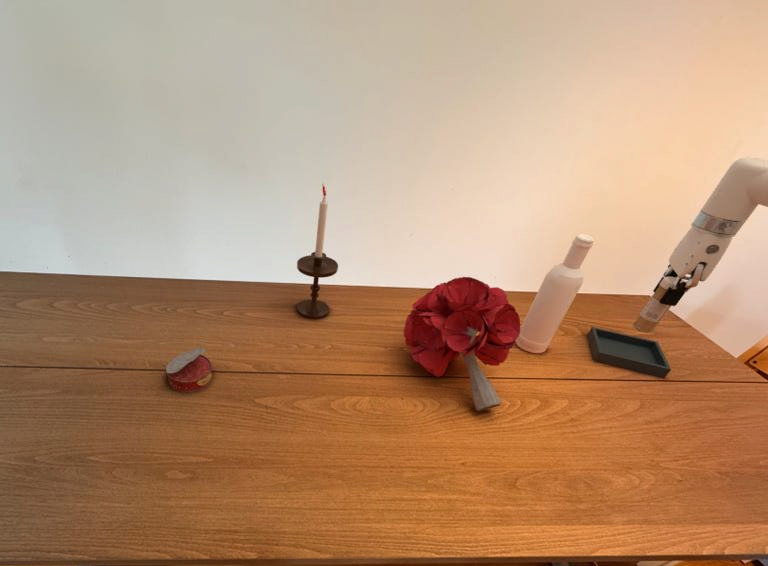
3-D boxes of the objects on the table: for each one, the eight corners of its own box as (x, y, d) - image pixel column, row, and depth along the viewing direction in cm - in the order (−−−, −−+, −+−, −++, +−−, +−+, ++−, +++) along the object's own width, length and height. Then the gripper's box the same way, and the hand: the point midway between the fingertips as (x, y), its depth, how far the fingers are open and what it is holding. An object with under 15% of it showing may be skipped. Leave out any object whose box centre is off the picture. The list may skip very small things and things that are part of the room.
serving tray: (651, 349, 113) (657, 341, 111) (664, 378, 104) (671, 369, 102) (586, 334, 117) (591, 326, 115) (593, 360, 108) (599, 352, 106)
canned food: (184, 407, 95) (157, 385, 87) (175, 375, 101) (150, 352, 93) (227, 382, 94) (204, 358, 86) (215, 351, 100) (193, 327, 93)
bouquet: (504, 410, 102) (461, 301, 112) (576, 380, 80) (515, 248, 89) (422, 427, 98) (385, 313, 108) (474, 401, 76) (422, 261, 86)
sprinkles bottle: (656, 331, 104) (692, 283, 96) (646, 335, 102) (681, 286, 94) (638, 321, 107) (671, 274, 99) (627, 325, 106) (660, 277, 97)
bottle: (551, 346, 112) (611, 238, 93) (538, 357, 108) (598, 247, 89) (522, 332, 116) (574, 227, 97) (508, 342, 112) (559, 234, 93)
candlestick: (298, 322, 115) (308, 191, 93) (290, 301, 123) (298, 176, 101) (336, 319, 117) (355, 190, 95) (326, 299, 125) (341, 175, 103)
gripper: (756, 242, 81) (693, 320, 92) (723, 213, 93) (671, 286, 105) (710, 234, 83) (654, 312, 94) (683, 207, 95) (637, 279, 107)
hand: (664, 298), depth 99 cm, fingers closed on sprinkles bottle, 4 cm apart
